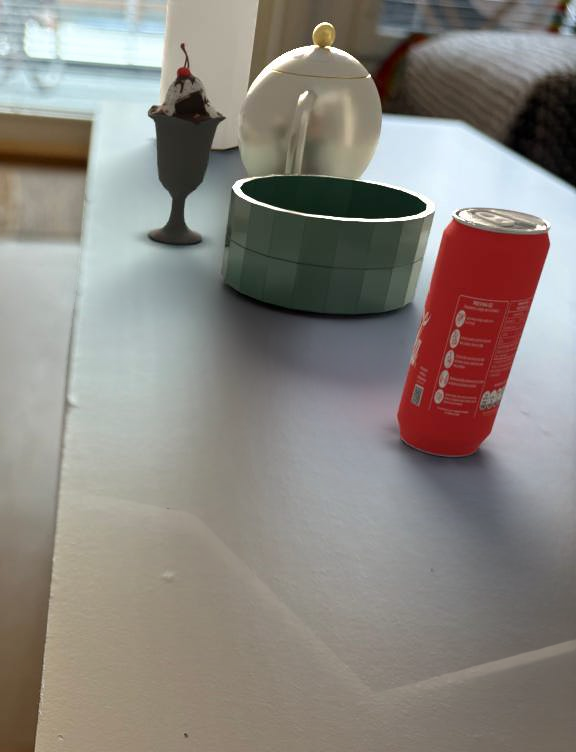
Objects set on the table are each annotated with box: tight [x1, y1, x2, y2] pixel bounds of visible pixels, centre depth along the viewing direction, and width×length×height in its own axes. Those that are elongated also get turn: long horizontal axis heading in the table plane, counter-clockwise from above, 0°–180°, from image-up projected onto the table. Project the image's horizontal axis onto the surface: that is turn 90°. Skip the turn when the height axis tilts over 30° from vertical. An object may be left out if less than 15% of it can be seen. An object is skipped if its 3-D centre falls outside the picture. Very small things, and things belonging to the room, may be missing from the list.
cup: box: [158, 0, 260, 151], centre depth 122 cm, size 11×11×18 cm
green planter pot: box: [220, 174, 436, 315], centre depth 76 cm, size 15×15×7 cm
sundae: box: [147, 43, 226, 245], centre depth 84 cm, size 7×7×15 cm
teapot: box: [238, 22, 383, 179], centre depth 93 cm, size 18×14×16 cm
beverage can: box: [396, 207, 551, 458], centre depth 52 cm, size 5×5×12 cm
